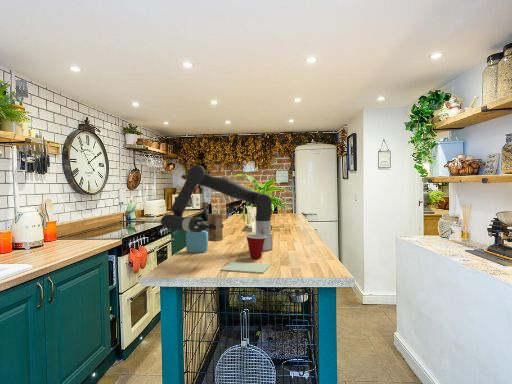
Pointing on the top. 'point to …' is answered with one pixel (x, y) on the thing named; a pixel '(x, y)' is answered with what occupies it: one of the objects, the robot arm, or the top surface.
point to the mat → (246, 267)
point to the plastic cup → (255, 245)
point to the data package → (197, 241)
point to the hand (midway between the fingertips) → (219, 226)
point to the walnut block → (216, 220)
